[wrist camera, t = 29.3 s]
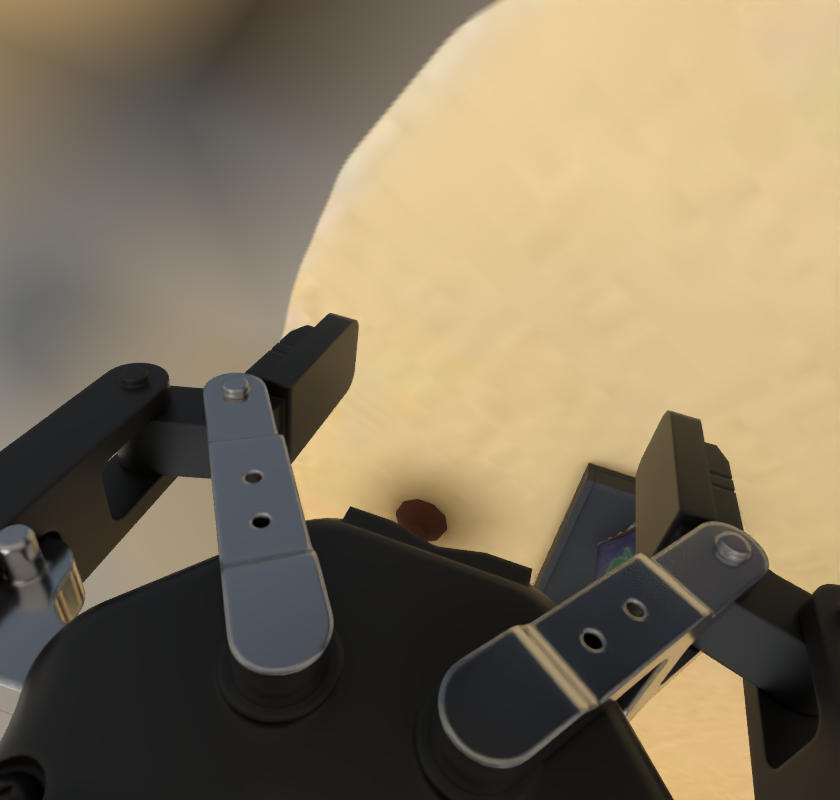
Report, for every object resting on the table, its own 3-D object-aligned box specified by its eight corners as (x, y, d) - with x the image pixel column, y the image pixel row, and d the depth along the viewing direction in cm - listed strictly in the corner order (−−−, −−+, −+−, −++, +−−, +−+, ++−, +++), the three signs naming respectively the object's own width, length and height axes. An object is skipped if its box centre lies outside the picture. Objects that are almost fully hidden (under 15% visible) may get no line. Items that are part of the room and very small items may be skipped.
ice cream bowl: (489, 551, 59) (452, 686, 47) (399, 561, 64) (344, 684, 52) (447, 471, 55) (394, 596, 43) (354, 488, 60) (284, 604, 48)
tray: (731, 509, 47) (735, 527, 46) (617, 673, 63) (617, 692, 61) (588, 463, 49) (587, 479, 47) (512, 633, 65) (508, 650, 63)
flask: (671, 500, 48) (679, 604, 39) (696, 521, 48) (708, 629, 40) (589, 546, 53) (580, 646, 45) (611, 564, 54) (606, 667, 45)
